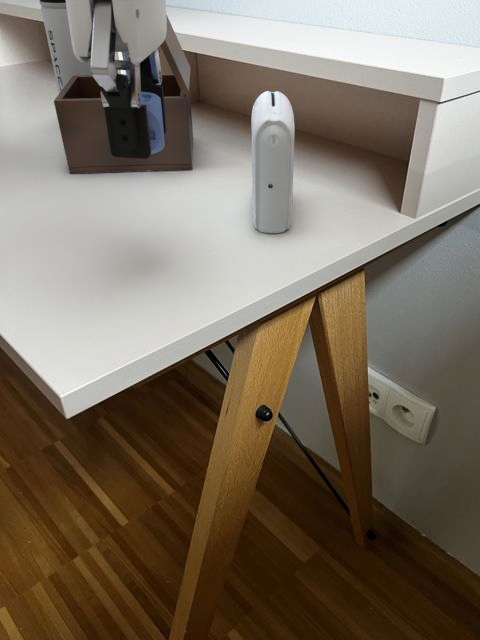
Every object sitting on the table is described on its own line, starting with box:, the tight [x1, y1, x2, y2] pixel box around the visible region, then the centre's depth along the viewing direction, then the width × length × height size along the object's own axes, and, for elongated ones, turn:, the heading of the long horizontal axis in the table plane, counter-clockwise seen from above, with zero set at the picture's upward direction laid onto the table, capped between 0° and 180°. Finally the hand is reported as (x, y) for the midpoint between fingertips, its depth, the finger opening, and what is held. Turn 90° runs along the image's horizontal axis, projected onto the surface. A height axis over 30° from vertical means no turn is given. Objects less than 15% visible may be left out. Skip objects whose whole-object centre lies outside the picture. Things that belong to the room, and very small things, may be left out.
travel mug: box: [39, 0, 92, 94], centre depth 80 cm, size 6×7×20 cm
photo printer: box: [250, 90, 296, 234], centre depth 58 cm, size 10×4×12 cm, turn 0°
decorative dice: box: [141, 92, 165, 154], centre depth 46 cm, size 4×4×4 cm
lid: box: [159, 13, 192, 95], centre depth 66 cm, size 16×13×6 cm
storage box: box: [53, 73, 194, 175], centre depth 74 cm, size 16×13×9 cm
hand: (140, 142), depth 47 cm, fingers closed on decorative dice, 4 cm apart
